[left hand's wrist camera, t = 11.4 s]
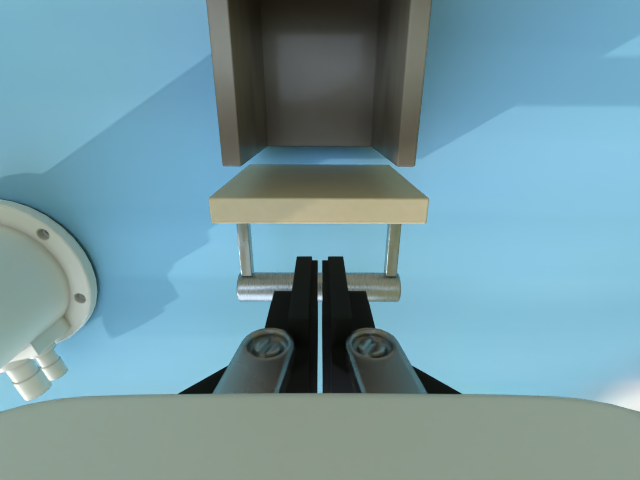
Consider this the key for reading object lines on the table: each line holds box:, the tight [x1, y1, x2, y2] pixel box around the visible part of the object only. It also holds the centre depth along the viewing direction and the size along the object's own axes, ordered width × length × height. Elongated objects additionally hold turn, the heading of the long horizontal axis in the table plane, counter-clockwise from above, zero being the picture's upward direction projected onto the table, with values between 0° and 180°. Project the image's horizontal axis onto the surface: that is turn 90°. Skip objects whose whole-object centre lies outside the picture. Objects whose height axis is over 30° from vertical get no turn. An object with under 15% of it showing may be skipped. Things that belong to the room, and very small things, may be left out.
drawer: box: [206, 0, 432, 302], centre depth 17 cm, size 23×10×9 cm, turn 0°
